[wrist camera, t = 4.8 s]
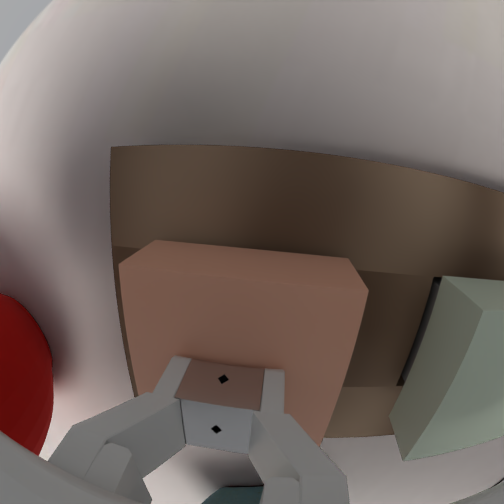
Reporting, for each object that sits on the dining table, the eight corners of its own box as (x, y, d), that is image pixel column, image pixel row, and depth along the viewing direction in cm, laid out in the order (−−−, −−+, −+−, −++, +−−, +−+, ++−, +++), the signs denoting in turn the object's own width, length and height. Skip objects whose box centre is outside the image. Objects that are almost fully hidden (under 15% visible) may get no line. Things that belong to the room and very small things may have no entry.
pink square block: (334, 238, 11) (368, 290, 6) (311, 365, 13) (318, 448, 8) (180, 224, 12) (118, 264, 7) (183, 349, 13) (145, 424, 9)
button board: (589, 228, 9) (611, 238, 7) (537, 377, 13) (552, 394, 10) (142, 148, 11) (110, 147, 9) (154, 381, 15) (138, 411, 12)
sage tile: (512, 264, 10) (579, 308, 5) (471, 371, 11) (512, 432, 7) (412, 252, 10) (483, 310, 5) (375, 377, 12) (402, 461, 7)
